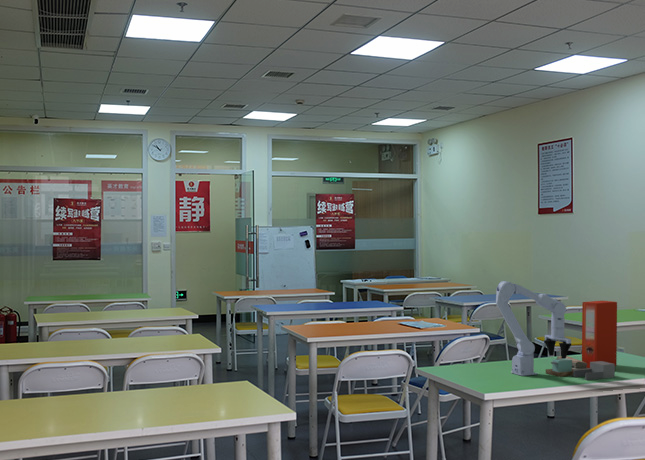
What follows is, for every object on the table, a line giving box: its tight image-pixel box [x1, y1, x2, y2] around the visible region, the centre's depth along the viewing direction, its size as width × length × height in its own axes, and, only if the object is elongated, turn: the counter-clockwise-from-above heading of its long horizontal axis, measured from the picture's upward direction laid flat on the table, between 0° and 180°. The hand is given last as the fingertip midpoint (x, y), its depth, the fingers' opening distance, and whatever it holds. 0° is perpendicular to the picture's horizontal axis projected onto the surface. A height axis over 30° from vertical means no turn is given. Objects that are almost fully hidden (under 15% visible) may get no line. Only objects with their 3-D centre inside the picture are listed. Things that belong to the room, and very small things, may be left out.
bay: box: [572, 361, 616, 381], centre depth 292 cm, size 17×8×6 cm, turn 114°
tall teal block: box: [550, 358, 572, 372], centre depth 298 cm, size 9×4×6 cm, turn 115°
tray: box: [545, 368, 575, 378], centre depth 298 cm, size 13×8×2 cm, turn 114°
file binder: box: [581, 300, 618, 368], centre depth 318 cm, size 8×17×32 cm, turn 124°
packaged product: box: [556, 355, 590, 370], centre depth 314 cm, size 18×5×10 cm
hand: (557, 356), depth 297 cm, fingers open, 7 cm apart
